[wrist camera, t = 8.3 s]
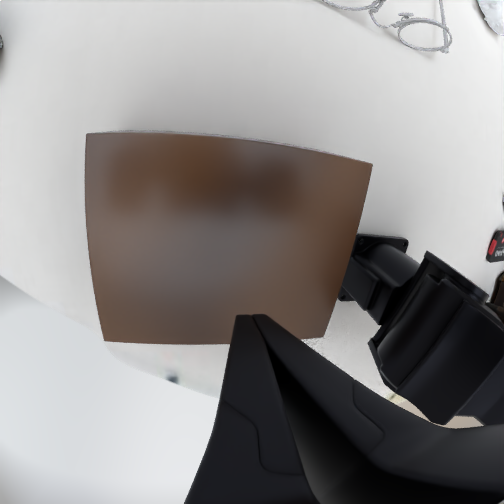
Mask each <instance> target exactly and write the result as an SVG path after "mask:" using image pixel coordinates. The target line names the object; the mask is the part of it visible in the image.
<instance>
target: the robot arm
mask: <svg viewBox="0 0 504 504" xmlns="http://www.w3.org/2000/svg"><path fill="white" fill-rule="evenodd" d="M359 239H361V240H360V241H359ZM403 243H404V244H403ZM408 243H409V242H408V240H407V239H405V238H400V237H390V236H379V235H368V234H357V235H356V238H355V241H354V245H353V248H352V252H351V255H350V259H349V262H348V265H347V269H346V272H345V275H344V278H343V282H342V285H341V288H340V291H339V294H338V297H337V298H338V299H339V301H356V302H357V303H358V305H359V306H360V307H361V308H362V309H363V310H364V311H367V312H368V313H369V315H370V316H371V317H372V318H373V319H374V320H375V321H376V323H377V324H378V325H382V326H381V327H380V329H379V330H378V331H377V333H376V334H375V336H374V337H373V338H371V339H370V341H369V342H368V345H369V348H370V350H371V353H372V355H373V358H374V360H375V363H376V365H377V368H378V371H379V373H380V376H381V378H382V380H383V382H384V384H385V385H386V386H388V387H389V388H390V389H391V390H392V391H393V392H395V393H396V394H398V395H400V396H402V397H403V398H405V399H407V400H408V401H409V402H411V403H412V404H413V405H415V406H416V407H417V408H418V409H419V410H420V411H421V412H422V413H423V414H424V415H425V416H426V417H427V418H428V419H429V420H430V421H431V422H432V423H431V422H429V421H427V420H425V419H423V418H421V417H419V416H416V415H414V414H413V413H411V412H409V411H407V410H405V409H403V408H401V407H399V406H397V405H395V404H394V403H392V402H390V401H388V400H387V399H385V398H383V397H381V396H380V395H378V394H377V393H375V392H373V391H372V390H370V389H369V388H367V387H366V386H364V385H363V384H361V383H360V382H358V381H357V380H354V379H353V377H351V376H350V375H348V374H347V373H345V372H344V371H343V370H341V369H340V368H338V367H337V366H335V365H334V364H333V363H331V362H330V361H328V360H327V359H326V358H324V357H323V356H321V355H320V354H319V353H317V352H316V351H315V350H313V349H312V348H310V347H309V346H308V345H306V344H305V343H304V342H302V341H301V340H300V339H298V338H297V337H295V336H294V335H293V334H291V333H290V332H289V331H287V330H286V329H285V328H283V327H282V326H281V325H279V324H278V323H277V322H275V321H274V320H273V319H272V318H270V317H269V316H268V315H266V314H252V315H249V314H241V315H236V317H235V323H234V328H233V333H232V338H231V343H230V348H229V353H228V358H227V363H226V368H225V374H224V379H223V384H222V389H221V394H220V400H219V404H218V409H217V414H216V418H215V422H214V426H213V430H212V434H211V437H210V439H209V442H208V445H207V448H206V451H205V454H204V456H203V458H202V461H201V463H200V466H199V468H198V471H197V473H196V476H195V478H194V481H193V483H192V486H191V488H190V490H189V493H188V495H187V498H186V500H185V502H184V504H504V325H503V323H502V322H501V320H500V319H499V317H498V316H497V314H496V313H495V312H494V311H492V310H491V309H490V308H489V307H488V306H486V305H485V302H486V300H487V299H488V297H489V295H488V294H487V293H486V292H484V291H483V290H482V289H481V288H479V287H478V286H477V285H476V284H474V283H473V282H472V281H470V280H469V279H468V278H466V277H465V276H464V275H462V274H461V273H460V272H458V271H457V270H455V269H454V268H453V267H451V266H450V265H448V264H447V263H445V262H444V261H442V260H441V259H439V258H438V257H436V256H435V255H433V254H432V253H430V252H429V251H426V253H425V255H424V259H423V261H422V262H421V264H419V263H418V262H416V261H415V260H413V259H412V258H411V257H409V256H408V255H407V254H405V253H406V250H407V247H408ZM342 295H343V296H342ZM341 296H342V297H341ZM454 416H467V417H474V418H475V419H477V420H478V421H479V422H480V423H481V424H483V425H484V426H480V427H470V428H457V429H454V428H445V427H441V426H438V425H435V424H433V423H436V424H440V425H446V424H447V423H448V422H449V421H450V420H451V419H452V418H453V417H454Z"/></svg>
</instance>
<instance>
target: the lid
mask: <svg viewBox="0 0 504 504" xmlns="http://www.w3.org/2000/svg"><path fill="white" fill-rule="evenodd" d="M372 166H373V164H371V163H367V162H364V161H360V160H356V159H352V158H347V157H343V156H339V155H334V154H329V153H325V152H320V151H315V150H310V149H304V148H299V147H293V146H287V145H281V144H275V143H268V142H261V141H254V140H246V139H238V138H229V137H219V136H208V135H195V134H179V133H154V132H108V133H88V134H86V148H85V210H86V227H87V240H88V250H89V259H90V267H91V274H92V281H93V288H94V294H95V299H96V305H97V310H98V315H99V320H100V325H101V329H102V334H103V338H104V341H110V342H124V343H143V344H182V345H202V344H230V343H231V338H232V333H233V328H234V323H235V317H236V315H241V314H249V315H252V314H266V315H268V316H269V317H270V318H272V319H273V320H274V321H275V322H277V323H278V324H279V325H281V326H282V327H283V328H285V329H286V330H287V331H289V332H290V333H291V334H293V335H294V336H295V337H297V338H298V339H300V340H301V339H311V338H321V337H323V336H324V334H325V331H326V328H327V326H328V323H329V320H330V317H331V314H332V312H333V309H334V306H335V303H336V300H337V297H338V294H339V291H340V288H341V285H342V282H343V278H344V275H345V272H346V269H347V265H348V262H349V259H350V255H351V252H352V248H353V245H354V241H355V238H356V234H357V230H358V226H359V223H360V219H361V215H362V211H363V207H364V202H365V198H366V194H367V190H368V185H369V180H370V176H371V171H372Z"/></svg>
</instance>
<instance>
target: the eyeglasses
mask: <svg viewBox="0 0 504 504" xmlns="http://www.w3.org/2000/svg"><path fill="white" fill-rule="evenodd" d="M323 1H324V2H326V3H328V4H330V5H332V6H334V7H337V8H341V9H345V10H366V9H369V8H370V9H371V10H369V13H370V15H371V18H372V20H373V21H374V23H375V24H376V25H377V26H379V27H381V28H387V27H390V26H393V27H394V28H396V27H399V29H398V36H399V39H400V40H401V41H402V42H403V43H404V44H405V45H407V46H409V47H411V48H414V49H418V50H423V51H438V50H440V51H441V52H445V53H449V48H448V46H450V44H451V43H452V36H451V34H450V32H449V28H448V27H446V22H445V15H444V9H443V4H442V0H439V3H440V9H441V16H442V24H441V23H439V22H437V21H435V20H431V19H427V18H411V19H408V18H409V17H408V16H410V17H411V16H414V15H413V14H412V13H399V14H398V15H399V16H404V17H402V19H403V18H405V19H406V20H403V21H402V19H401V21H397V22H396V24H391V25H389V26H381V25H379V24H378V23H377V22H376V20H375V19H374V17H373V15H372V13H373V12H374V13H376V12H378V9H379V8H380V7H381V6H382V5H383V3H384V2H385V1H386V0H376V1H374V2H373V3H372V4H371V5H369V6H366V7H360V8H351V7H344V6H340V5H337V4H334V3H332V2H330V1H328V0H323ZM378 3H380V4H379V5H378V6H377V7H375V5H377V4H378ZM414 23H429V24H433V25H436V26H439V27H441V28H443V34H444V46H442V47H438V48H421V47H416V46H413V45H410V44H408V43H407V42H405V41H404V40H403V39H402V38H401V37H400V31H401V30H402V28H404V27H405V26H407V25H410V24H414ZM447 32H448V33H449V35H450V41H449V42H448V38H447Z"/></svg>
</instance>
